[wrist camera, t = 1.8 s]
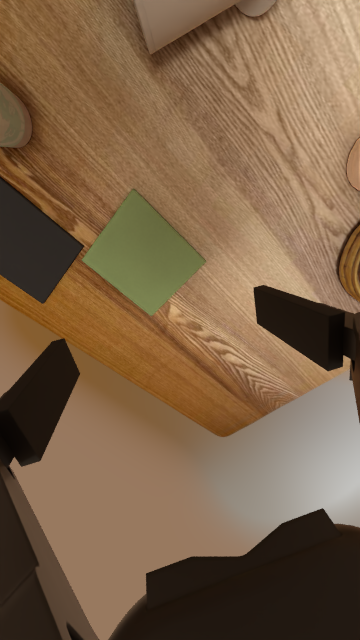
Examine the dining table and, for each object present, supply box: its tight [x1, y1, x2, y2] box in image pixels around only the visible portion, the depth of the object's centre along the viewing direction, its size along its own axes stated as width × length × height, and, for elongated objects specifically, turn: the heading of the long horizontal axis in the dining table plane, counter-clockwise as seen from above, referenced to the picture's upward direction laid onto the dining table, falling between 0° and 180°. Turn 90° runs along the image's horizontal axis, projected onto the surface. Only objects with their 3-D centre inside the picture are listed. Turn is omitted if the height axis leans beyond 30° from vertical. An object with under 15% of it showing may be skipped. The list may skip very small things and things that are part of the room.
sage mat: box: [82, 189, 206, 316], centre depth 37 cm, size 15×14×1 cm
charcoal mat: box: [0, 177, 84, 304], centre depth 36 cm, size 15×14×1 cm
